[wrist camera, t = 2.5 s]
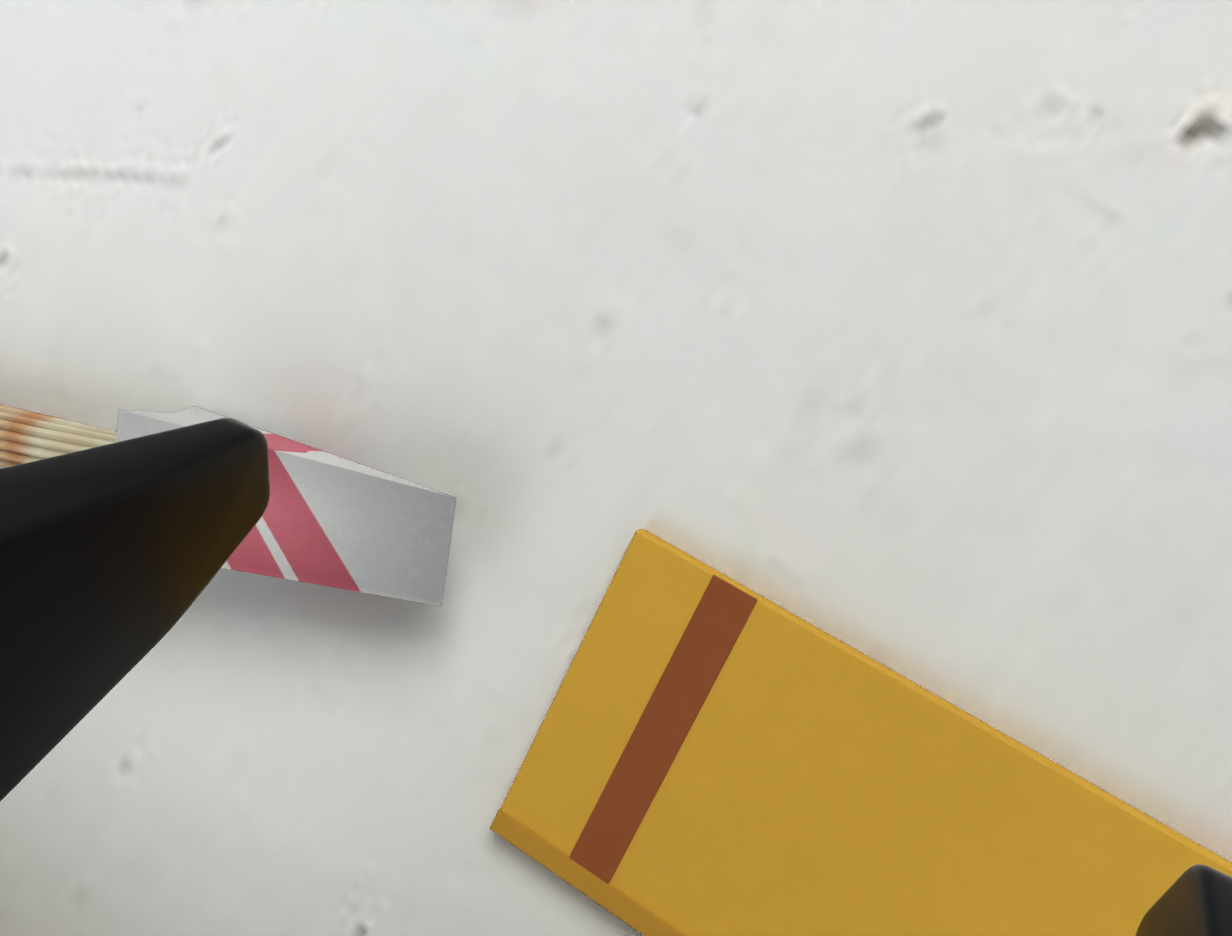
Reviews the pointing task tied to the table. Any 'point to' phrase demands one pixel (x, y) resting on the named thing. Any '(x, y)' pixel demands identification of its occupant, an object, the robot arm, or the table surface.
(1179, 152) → the table surface
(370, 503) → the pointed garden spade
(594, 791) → the tea towel
